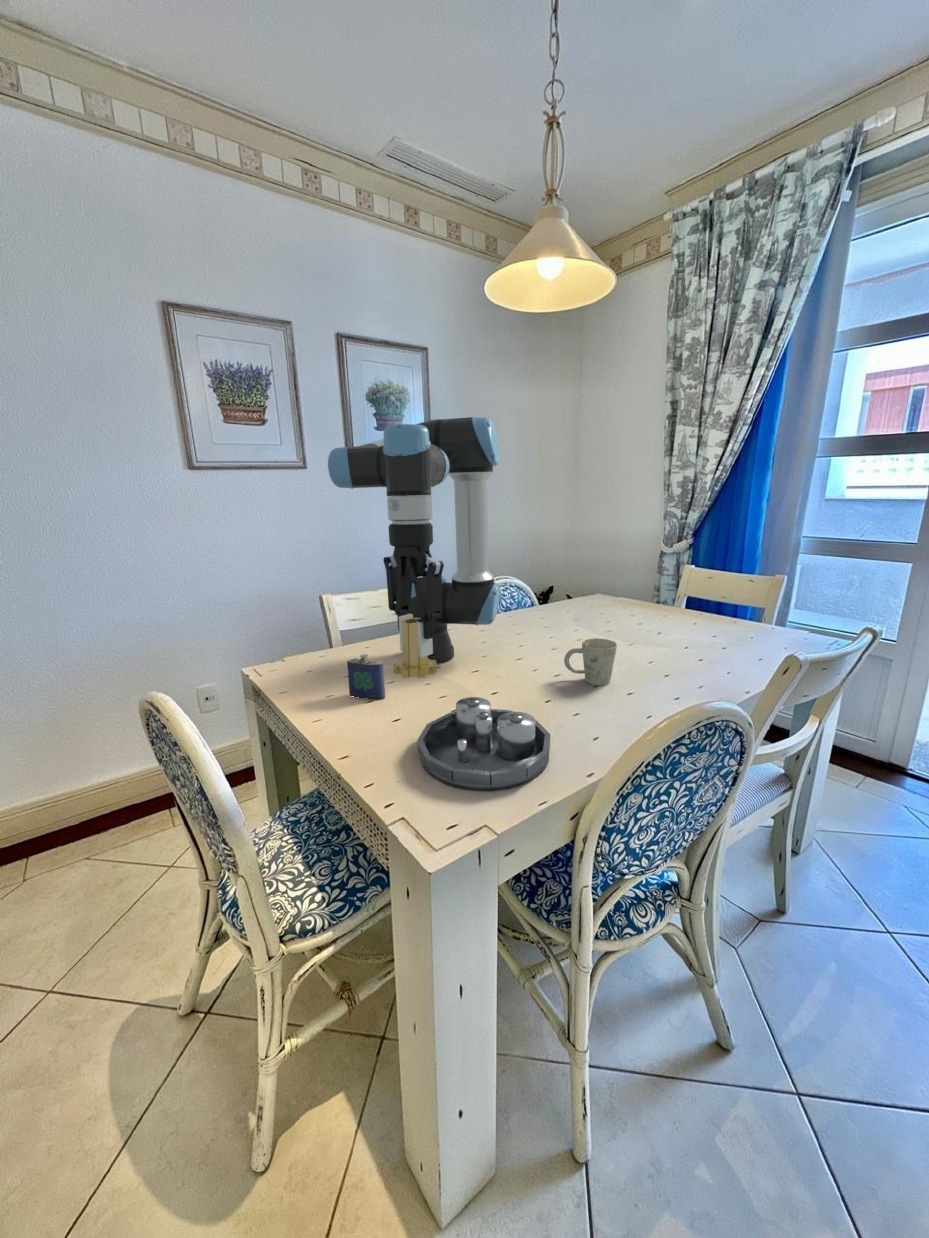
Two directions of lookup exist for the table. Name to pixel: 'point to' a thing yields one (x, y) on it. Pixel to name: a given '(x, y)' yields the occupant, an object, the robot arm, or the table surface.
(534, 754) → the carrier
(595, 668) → the mug
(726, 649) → the table surface
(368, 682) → the flask
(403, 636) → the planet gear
